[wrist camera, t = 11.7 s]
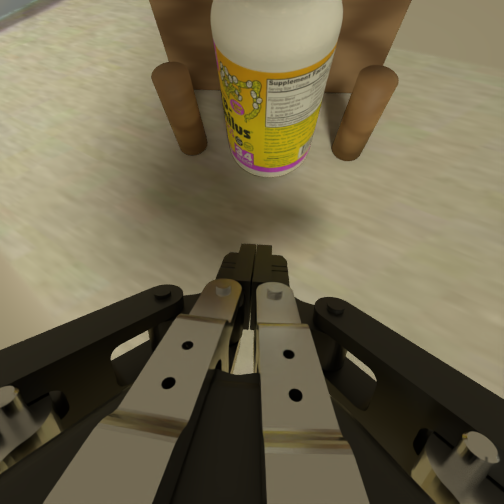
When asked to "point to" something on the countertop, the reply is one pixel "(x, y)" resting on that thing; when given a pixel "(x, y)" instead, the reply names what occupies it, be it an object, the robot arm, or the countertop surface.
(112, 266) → the countertop surface
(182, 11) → the walnut rail
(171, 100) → the dowel gate
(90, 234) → the countertop surface
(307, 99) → the supplement bottle
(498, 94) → the countertop surface
